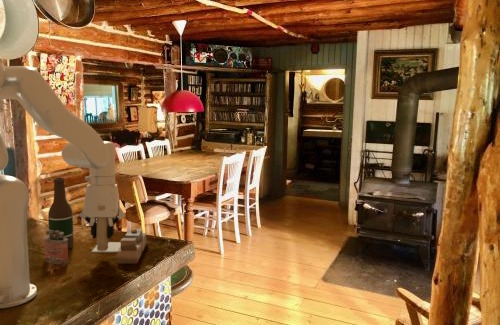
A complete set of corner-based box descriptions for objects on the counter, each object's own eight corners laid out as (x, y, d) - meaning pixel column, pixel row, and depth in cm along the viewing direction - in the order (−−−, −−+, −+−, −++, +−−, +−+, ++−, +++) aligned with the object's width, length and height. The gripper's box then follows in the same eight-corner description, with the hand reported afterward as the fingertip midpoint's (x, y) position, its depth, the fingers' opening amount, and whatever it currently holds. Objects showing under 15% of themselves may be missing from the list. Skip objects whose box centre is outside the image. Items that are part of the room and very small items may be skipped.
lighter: (71, 261, 131) (70, 230, 130) (63, 265, 128) (62, 233, 127) (49, 257, 133) (48, 227, 132) (42, 261, 130) (40, 230, 129)
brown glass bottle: (78, 243, 147) (76, 176, 143) (66, 251, 139) (63, 180, 136) (57, 242, 148) (54, 175, 144) (44, 250, 140) (41, 179, 136)
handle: (107, 245, 138) (107, 201, 136) (112, 251, 132) (113, 205, 130) (92, 248, 135) (92, 202, 133) (97, 254, 130) (96, 206, 128)
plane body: (137, 263, 131) (136, 240, 130) (117, 263, 130) (116, 240, 129) (146, 243, 149) (146, 223, 148) (129, 243, 148) (128, 223, 147)
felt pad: (119, 252, 140) (119, 251, 140) (91, 252, 139) (91, 251, 139) (125, 243, 149) (125, 242, 148) (99, 243, 148) (99, 242, 148)
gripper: (70, 181, 127) (71, 240, 129) (127, 183, 128) (126, 241, 130) (78, 178, 134) (79, 233, 136) (132, 179, 135) (131, 234, 138)
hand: (102, 236), depth 133 cm, fingers closed on handle, 4 cm apart
